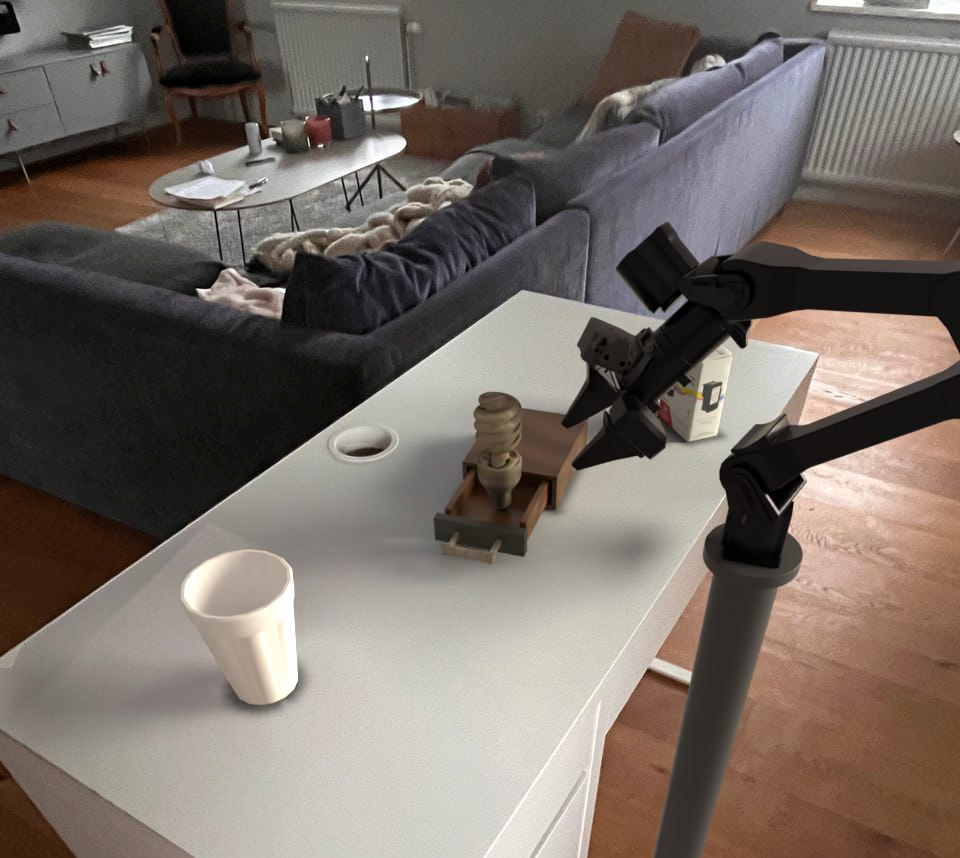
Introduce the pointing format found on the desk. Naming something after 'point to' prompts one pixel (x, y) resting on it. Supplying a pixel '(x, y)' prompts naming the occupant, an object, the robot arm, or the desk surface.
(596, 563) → the desk surface
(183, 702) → the desk surface
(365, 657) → the desk surface
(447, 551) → the drawer
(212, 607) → the cup
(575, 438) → the cabinet
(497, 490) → the light bulb
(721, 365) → the ink box
